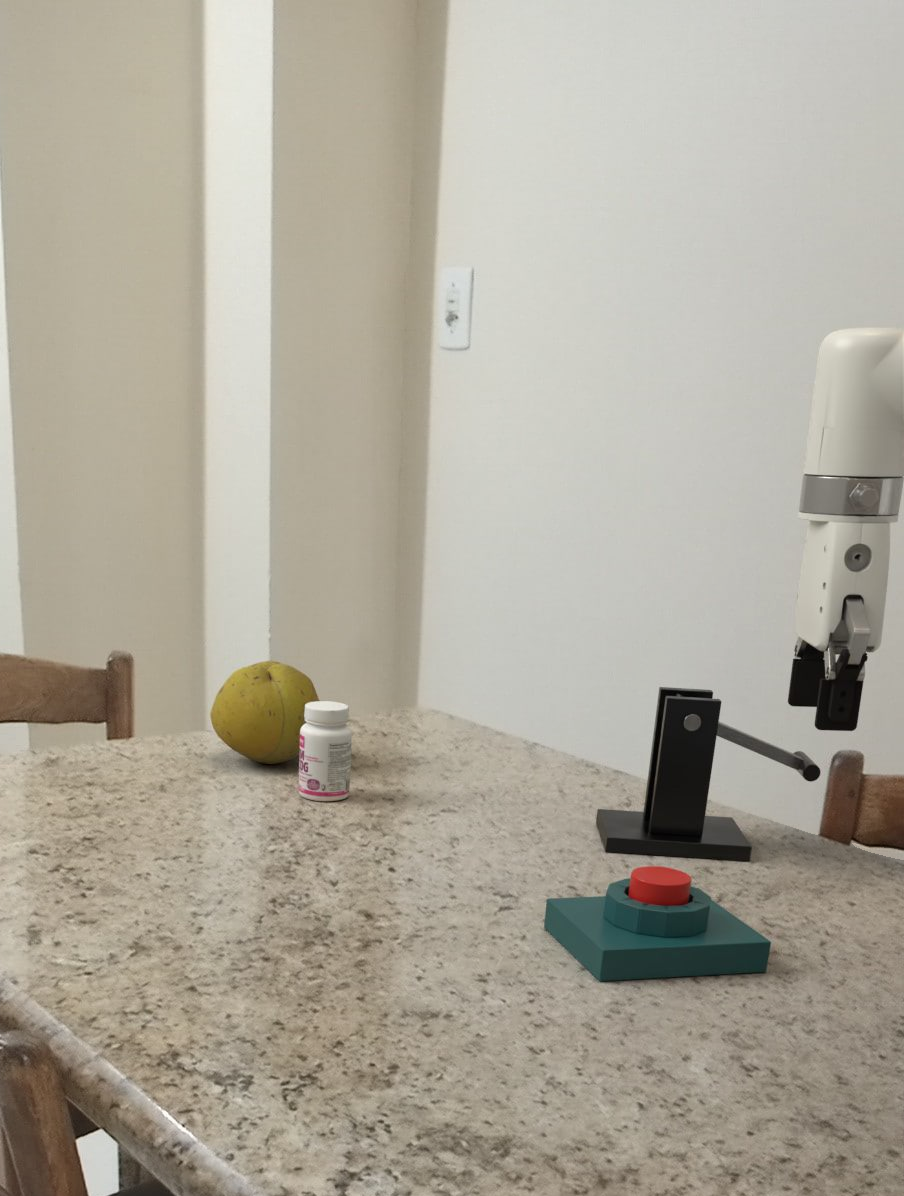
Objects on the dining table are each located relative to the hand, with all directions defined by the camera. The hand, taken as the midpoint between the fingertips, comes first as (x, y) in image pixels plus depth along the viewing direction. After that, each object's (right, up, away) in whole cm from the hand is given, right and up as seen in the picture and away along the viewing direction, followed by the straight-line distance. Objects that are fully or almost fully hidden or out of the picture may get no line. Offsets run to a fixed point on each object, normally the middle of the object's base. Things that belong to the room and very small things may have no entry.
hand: (820, 717), depth 114 cm
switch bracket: (-11, -10, +5) cm, 16 cm away
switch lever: (-7, -3, +2) cm, 7 cm away
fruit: (-48, 0, +24) cm, 54 cm away
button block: (-18, -19, -20) cm, 33 cm away
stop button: (-18, -16, -21) cm, 32 cm away
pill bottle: (-42, -5, +14) cm, 44 cm away
